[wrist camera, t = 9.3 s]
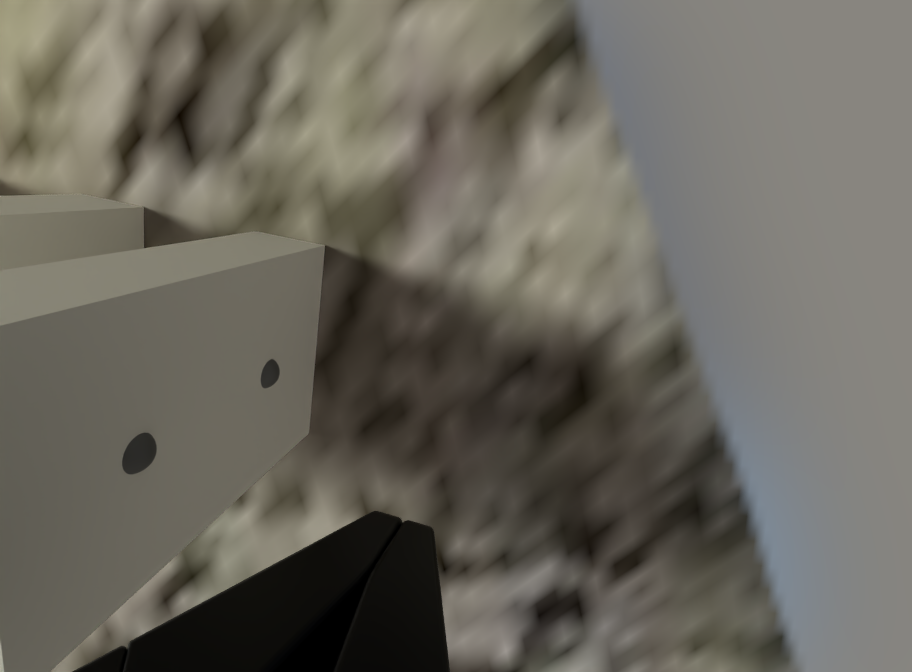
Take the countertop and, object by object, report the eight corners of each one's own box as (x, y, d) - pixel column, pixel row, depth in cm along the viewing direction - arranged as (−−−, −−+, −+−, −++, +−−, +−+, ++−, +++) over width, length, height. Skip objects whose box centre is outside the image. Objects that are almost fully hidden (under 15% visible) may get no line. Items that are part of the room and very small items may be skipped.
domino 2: (316, 435, 14) (22, 714, 7) (247, 417, 15) (-105, 664, 7) (332, 246, 13) (-22, 339, 5) (256, 230, 13) (-181, 297, 6)
